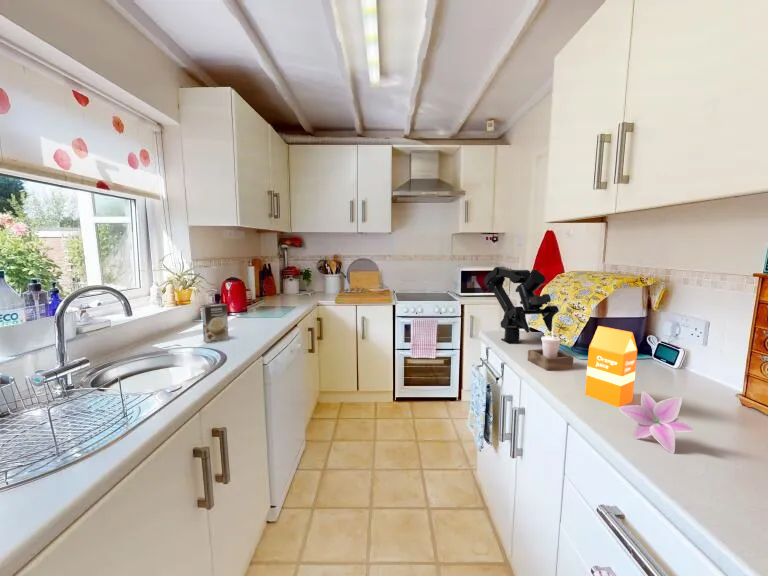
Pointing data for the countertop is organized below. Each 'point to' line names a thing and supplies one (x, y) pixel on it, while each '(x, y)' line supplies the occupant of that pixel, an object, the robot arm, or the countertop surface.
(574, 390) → the countertop surface
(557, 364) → the brown wooden tray
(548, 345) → the smoothie
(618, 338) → the orange juice
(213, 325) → the coffee box
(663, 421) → the lily
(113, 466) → the countertop surface
